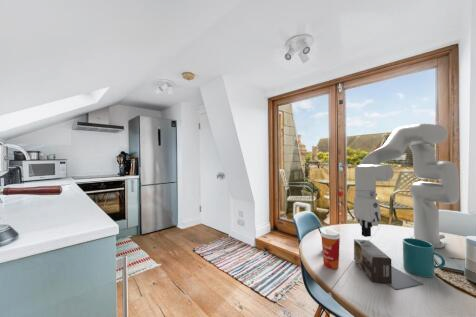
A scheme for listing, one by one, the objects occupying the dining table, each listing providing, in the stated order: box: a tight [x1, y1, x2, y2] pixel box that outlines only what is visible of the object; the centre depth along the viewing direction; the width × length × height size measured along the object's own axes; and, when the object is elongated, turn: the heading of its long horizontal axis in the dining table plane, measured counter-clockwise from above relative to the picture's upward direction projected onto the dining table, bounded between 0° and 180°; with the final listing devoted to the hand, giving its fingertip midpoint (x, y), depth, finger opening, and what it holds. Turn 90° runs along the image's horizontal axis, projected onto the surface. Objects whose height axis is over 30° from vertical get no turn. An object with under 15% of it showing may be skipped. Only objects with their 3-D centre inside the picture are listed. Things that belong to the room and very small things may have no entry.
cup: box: [402, 237, 446, 278], centre depth 76 cm, size 9×12×11 cm
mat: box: [355, 262, 424, 290], centre depth 76 cm, size 12×17×1 cm
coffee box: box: [353, 238, 393, 284], centre depth 78 cm, size 9×6×16 cm
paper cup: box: [320, 229, 341, 270], centre depth 82 cm, size 8×8×14 cm
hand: (366, 235), depth 85 cm, fingers closed
